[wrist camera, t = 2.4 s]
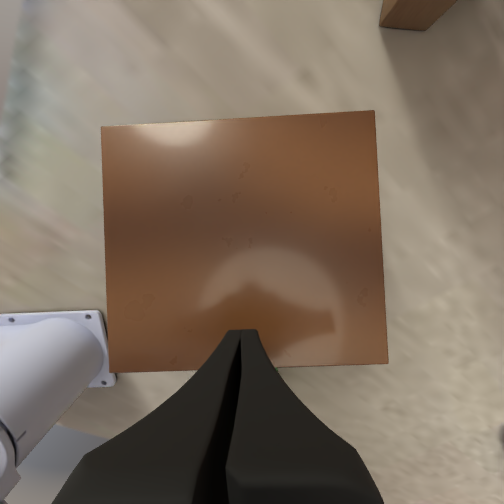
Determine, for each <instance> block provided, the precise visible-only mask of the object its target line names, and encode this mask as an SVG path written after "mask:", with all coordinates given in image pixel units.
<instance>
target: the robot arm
mask: <svg viewBox="0 0 504 504" xmlns="http://www.w3.org/2000/svg"><path fill="white" fill-rule="evenodd" d="M89 315H90V316H91V317H89ZM105 381H106V382H105ZM115 383H116V376H115V373H109V354H108V340H107V336H106V331H105V327H104V323H103V318H102V314H101V313H100V312H99V311H98V310H85V311H60V312H35V313H10V314H1V315H0V504H7V503H6V501H5V500H4V499H5V497H6V496H7V495H8V494H9V492H10V491H11V490H12V489H13V488H14V486H15V485H16V484H17V483H18V482H19V480H20V479H21V477H20V475H19V474H18V472H17V470H16V468H17V467H18V466H19V465H20V463H21V462H22V461H23V460H24V459H25V458H26V456H27V455H28V454H29V453H30V452H31V451H32V449H33V448H34V447H35V446H36V445H37V444H38V443H39V441H40V440H41V439H42V438H43V437H44V436H45V435H46V433H47V432H48V431H49V430H50V429H51V427H53V425H54V424H55V423H56V422H57V421H58V420H59V418H60V417H61V416H62V415H63V414H64V413H65V412H66V410H67V409H68V408H69V407H70V406H71V405H72V403H73V402H74V401H75V400H76V399H77V398H78V397H79V395H80V394H81V393H82V392H83V391H84V390H85V388H89V387H112V386H114V384H115ZM52 504H384V502H383V499H382V497H381V495H380V492H379V490H378V488H377V486H376V484H375V482H374V480H373V479H372V477H371V475H370V473H369V471H368V469H367V467H366V466H365V464H364V462H363V461H362V459H361V457H360V455H359V454H358V452H357V451H356V449H355V448H354V447H352V446H351V445H350V444H348V443H347V442H346V441H345V440H343V439H342V438H341V437H339V436H338V435H337V434H336V433H334V432H333V431H332V430H330V429H329V428H328V427H327V426H326V425H325V424H324V423H323V422H321V421H320V420H319V419H318V418H317V417H316V416H315V415H314V414H313V413H312V412H311V411H310V410H309V409H308V408H307V407H306V406H305V405H304V404H303V403H302V402H301V401H300V400H299V399H298V398H297V396H296V395H295V394H294V393H293V392H292V391H291V389H290V388H289V387H288V386H287V384H286V383H285V382H284V380H283V379H282V378H281V376H280V375H279V373H278V372H277V370H276V369H275V367H274V366H273V364H272V362H271V361H270V359H269V357H268V355H267V353H266V351H265V349H264V347H263V345H262V343H261V340H260V337H259V334H258V331H257V330H256V329H240V330H228V331H227V332H226V334H225V336H224V337H223V339H222V340H221V342H220V343H219V344H218V346H217V347H216V349H215V350H214V351H213V353H212V354H211V355H210V356H209V358H208V359H207V360H206V361H205V363H204V364H203V365H202V366H201V367H200V368H199V370H198V371H197V372H196V373H195V374H194V375H193V376H192V377H191V378H190V379H189V380H188V381H187V382H186V383H185V384H184V385H183V386H182V387H181V388H180V389H179V390H178V391H177V392H176V393H175V394H173V395H172V396H171V397H170V398H169V399H167V400H166V401H165V402H164V403H162V404H161V405H160V406H159V407H158V408H156V409H155V410H154V411H152V412H151V413H150V414H148V415H147V416H146V417H144V418H143V419H141V420H140V421H138V422H137V423H136V424H134V425H133V426H131V427H130V428H128V429H127V430H125V431H124V432H122V433H120V434H119V435H117V436H115V437H114V438H112V439H111V440H109V441H107V442H106V443H104V444H102V445H101V446H99V447H97V448H96V449H94V450H92V451H91V452H89V453H87V454H85V455H84V456H83V458H82V459H81V461H80V462H79V463H78V465H77V466H76V468H75V469H74V470H73V472H72V473H71V475H70V476H69V478H68V479H67V481H66V482H65V484H64V485H63V487H62V489H61V490H60V492H59V493H58V495H57V496H56V498H55V499H54V501H53V502H52Z"/></svg>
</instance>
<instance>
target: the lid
mask: <svg viewBox="0 0 504 504" xmlns="http://www.w3.org/2000/svg"><path fill="white" fill-rule="evenodd" d="M101 146H102V175H103V205H104V235H105V265H106V295H107V325H108V354H109V373H129V372H159V371H189V370H199V368H200V367H201V366H202V365H203V364H204V363H205V361H206V360H207V359H208V358H209V356H210V355H211V354H212V353H213V351H214V350H215V349H216V347H217V346H218V344H219V343H220V342H221V340H222V339H223V337H224V336H225V334H226V332H227V331H228V330H240V329H256V330H257V331H258V334H259V337H260V340H261V343H262V345H263V347H264V349H265V351H266V353H267V355H268V357H269V359H270V361H271V362H272V364H273V366H274V367H275V368H279V367H309V366H339V365H369V364H388V345H387V326H386V308H385V290H384V272H383V254H382V236H381V218H380V200H379V182H378V164H377V145H376V127H375V111H374V110H370V111H354V112H337V113H320V114H303V115H286V116H270V117H253V118H236V119H219V120H203V121H186V122H169V123H152V124H135V125H119V126H102V127H101Z"/></svg>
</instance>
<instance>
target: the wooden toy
mask: <svg viewBox="0 0 504 504" xmlns="http://www.w3.org/2000/svg"><path fill="white" fill-rule="evenodd" d="M456 1H457V0H383V6H382V12H381V17H380V23H379V26H383V27H392V28H402V29H412V30H424V31H426V30H427V29H428V28H429V27H430V26H431V25H432V24H433V23H434V22H435V21H436V20H437V19H438V18H440V17H441V16H442V15H443V14H444V13H445V12H446V11H447V10H448V9H449V8H450V7H451V6H452V5H453V4H454V3H455V2H456Z"/></svg>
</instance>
